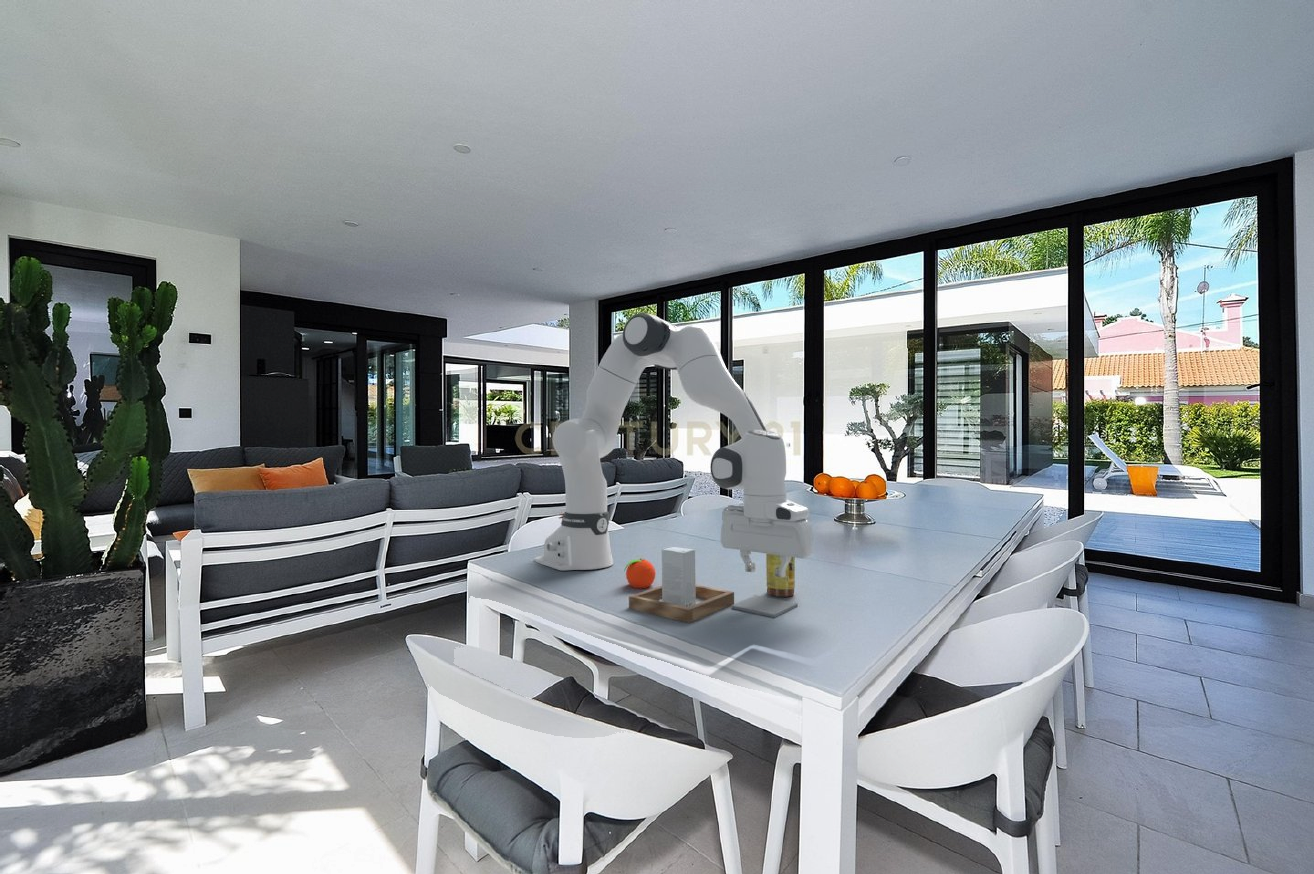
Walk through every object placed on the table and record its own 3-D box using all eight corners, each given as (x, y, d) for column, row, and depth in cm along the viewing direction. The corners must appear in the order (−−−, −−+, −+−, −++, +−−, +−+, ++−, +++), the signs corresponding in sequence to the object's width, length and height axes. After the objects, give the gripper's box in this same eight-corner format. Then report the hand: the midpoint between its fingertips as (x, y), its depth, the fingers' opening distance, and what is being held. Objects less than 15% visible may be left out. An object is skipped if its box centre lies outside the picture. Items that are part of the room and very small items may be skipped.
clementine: (631, 595, 132) (631, 563, 132) (616, 588, 138) (616, 558, 138) (661, 589, 137) (661, 559, 137) (645, 583, 142) (645, 554, 142)
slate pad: (731, 608, 122) (731, 605, 122) (755, 597, 130) (755, 595, 130) (774, 617, 116) (774, 614, 116) (797, 606, 123) (797, 603, 123)
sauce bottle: (795, 599, 129) (795, 508, 128) (766, 597, 130) (765, 507, 130) (794, 591, 135) (794, 504, 135) (766, 589, 136) (766, 504, 136)
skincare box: (696, 606, 123) (696, 549, 123) (684, 611, 120) (684, 552, 120) (673, 601, 127) (673, 546, 127) (661, 605, 124) (660, 549, 124)
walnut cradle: (628, 608, 122) (628, 596, 122) (676, 591, 135) (676, 580, 135) (689, 623, 112) (688, 610, 112) (734, 603, 125) (734, 592, 125)
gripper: (714, 505, 127) (714, 569, 127) (803, 513, 114) (803, 584, 114) (730, 503, 132) (730, 564, 132) (816, 510, 119) (817, 578, 119)
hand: (765, 574), depth 123 cm, fingers open, 6 cm apart
